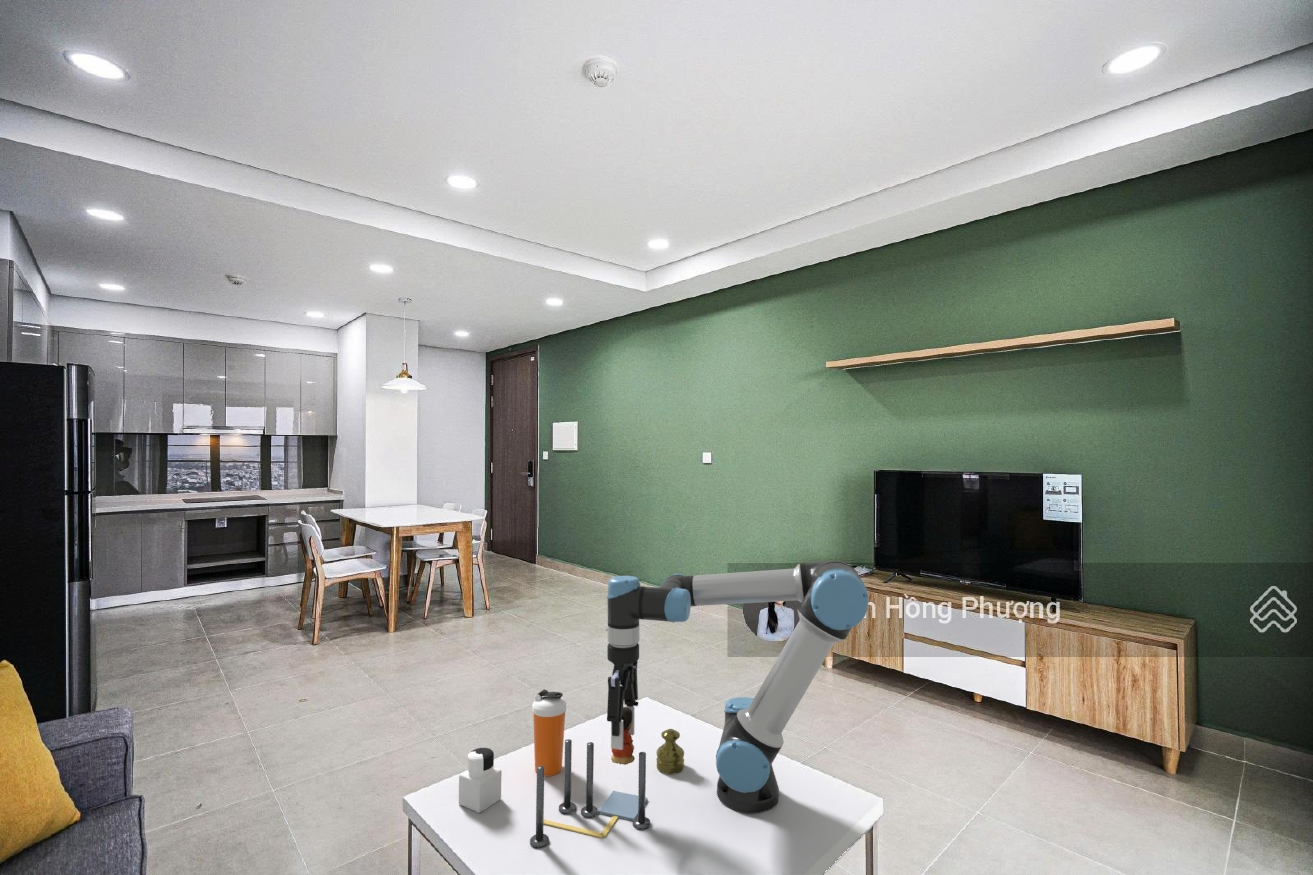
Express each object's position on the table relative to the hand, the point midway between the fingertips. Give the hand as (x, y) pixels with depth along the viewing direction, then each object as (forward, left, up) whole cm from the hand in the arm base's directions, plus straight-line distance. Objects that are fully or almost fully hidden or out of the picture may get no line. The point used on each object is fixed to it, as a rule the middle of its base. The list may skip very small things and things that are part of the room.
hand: (623, 740), depth 146 cm
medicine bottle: (+33, +9, -17) cm, 38 cm away
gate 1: (+12, +11, -16) cm, 23 cm away
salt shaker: (-5, -22, -17) cm, 28 cm away
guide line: (+8, +7, -16) cm, 19 cm away
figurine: (0, 0, -5) cm, 5 cm away
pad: (0, -1, -16) cm, 16 cm away
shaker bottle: (+25, -10, -17) cm, 32 cm away
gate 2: (0, +4, -16) cm, 17 cm away
